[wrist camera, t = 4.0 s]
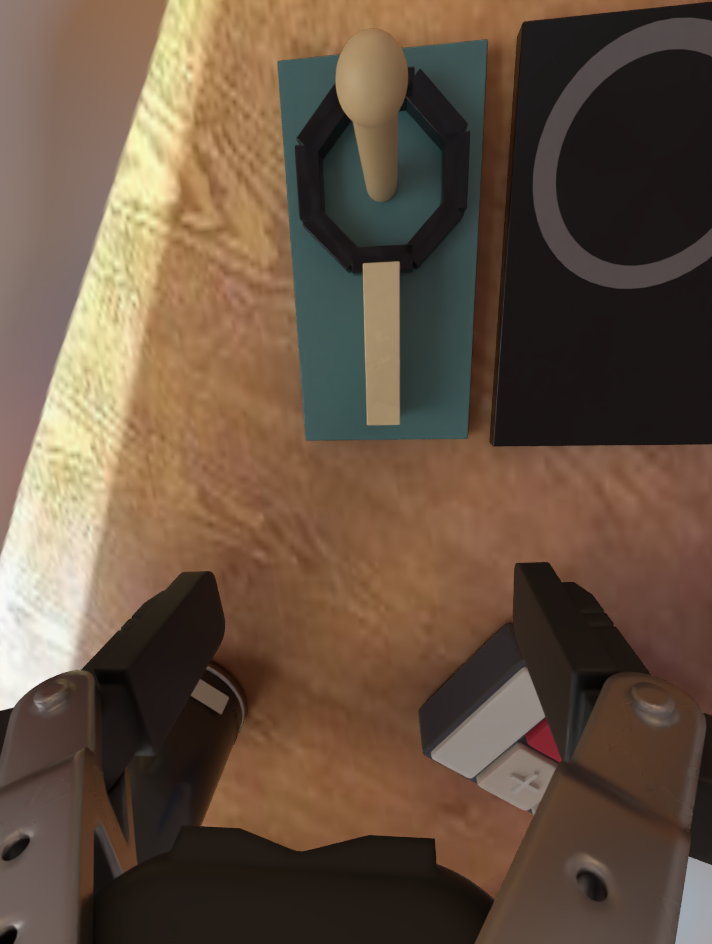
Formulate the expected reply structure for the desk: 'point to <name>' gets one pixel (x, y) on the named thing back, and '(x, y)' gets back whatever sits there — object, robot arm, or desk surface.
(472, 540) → the desk surface
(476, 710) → the calculator
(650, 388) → the hob plate
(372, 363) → the hoop
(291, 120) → the peg stand
